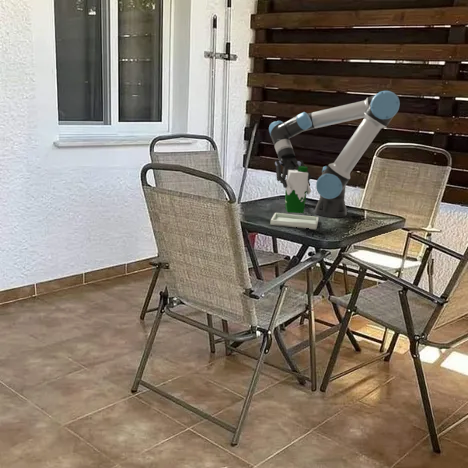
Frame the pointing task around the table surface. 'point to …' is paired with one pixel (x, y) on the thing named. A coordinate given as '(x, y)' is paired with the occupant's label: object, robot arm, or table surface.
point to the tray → (294, 221)
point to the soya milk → (296, 190)
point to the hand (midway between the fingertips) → (299, 193)
